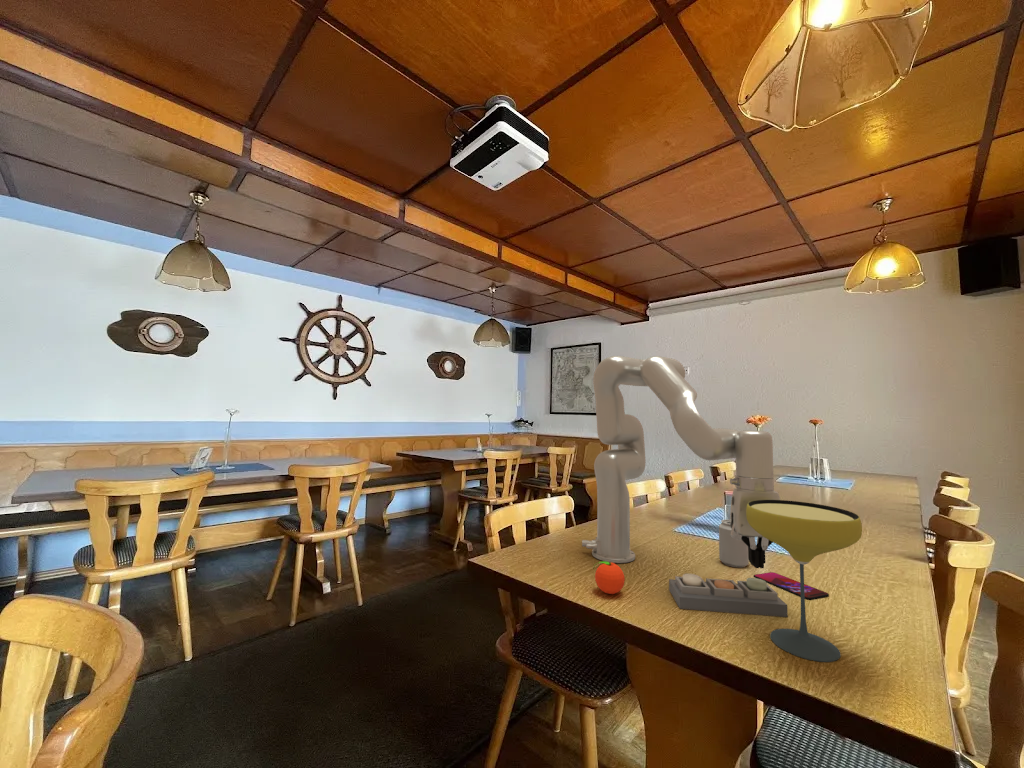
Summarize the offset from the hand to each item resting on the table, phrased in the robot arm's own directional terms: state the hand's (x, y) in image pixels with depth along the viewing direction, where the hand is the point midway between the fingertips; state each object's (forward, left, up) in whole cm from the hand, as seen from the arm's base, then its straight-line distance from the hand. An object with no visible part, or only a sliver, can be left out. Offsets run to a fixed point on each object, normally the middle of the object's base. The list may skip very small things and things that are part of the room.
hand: (757, 566), depth 95 cm
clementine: (-33, +1, -9) cm, 34 cm away
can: (+5, +27, -9) cm, 29 cm away
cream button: (-14, 0, -5) cm, 15 cm away
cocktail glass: (+1, -16, -9) cm, 18 cm away
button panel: (-7, 0, -9) cm, 11 cm away
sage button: (0, 0, -5) cm, 5 cm away
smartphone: (+13, +13, -9) cm, 21 cm away
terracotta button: (-7, 0, -6) cm, 9 cm away
